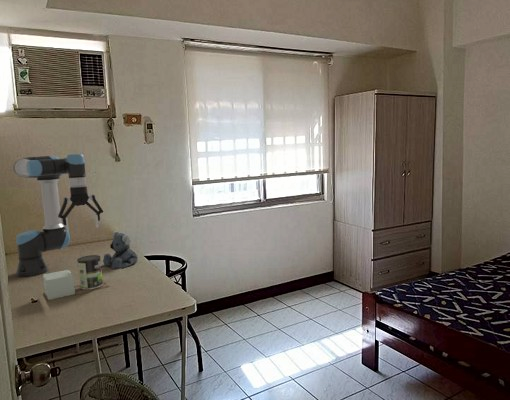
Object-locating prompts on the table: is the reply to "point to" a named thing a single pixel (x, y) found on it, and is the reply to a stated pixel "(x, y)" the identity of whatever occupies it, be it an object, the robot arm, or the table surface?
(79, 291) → the board
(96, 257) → the coffee can
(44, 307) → the table surface
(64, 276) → the pale green block
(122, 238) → the koala plush
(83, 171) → the robot arm
